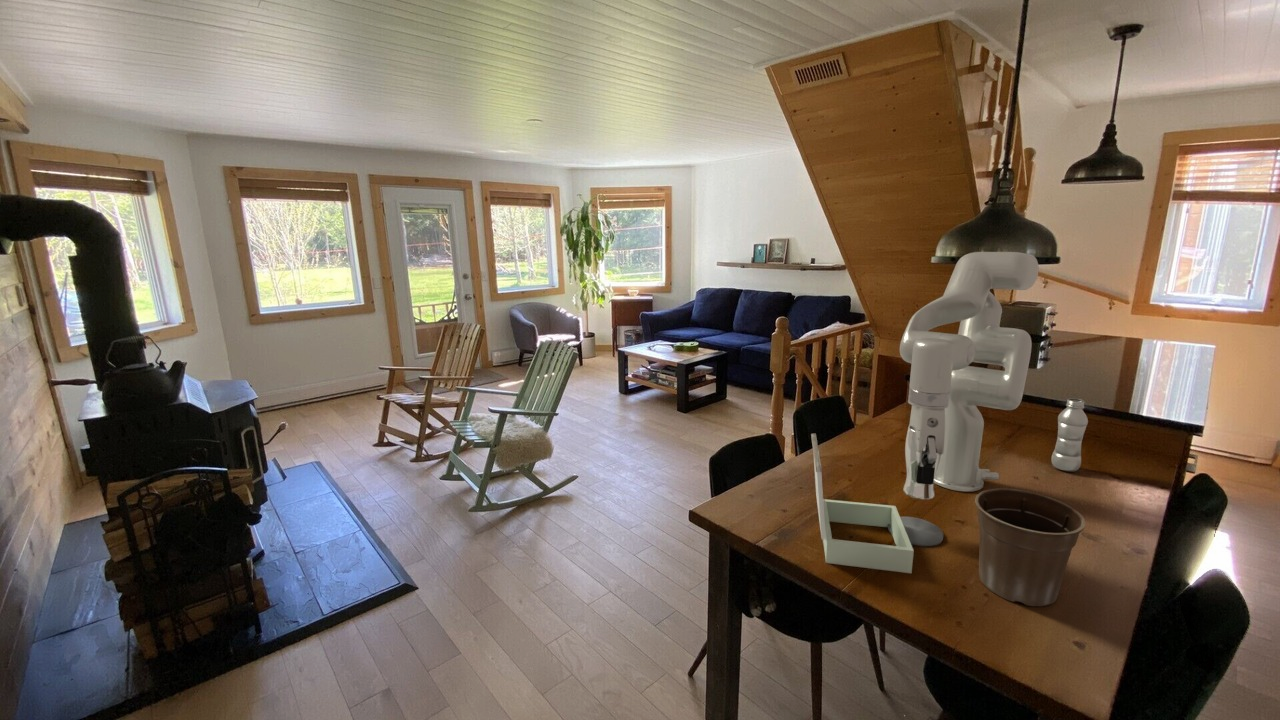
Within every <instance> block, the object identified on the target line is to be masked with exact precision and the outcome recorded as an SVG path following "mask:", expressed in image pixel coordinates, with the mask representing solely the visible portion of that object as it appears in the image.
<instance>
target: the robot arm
mask: <svg viewBox="0 0 1280 720" xmlns="http://www.w3.org/2000/svg"><path fill="white" fill-rule="evenodd" d="M1038 276H1039V262H1038V259H1037V258H1036V257H1035V256H1034V255H1032V254H1029V253H1024V252H1017V251H974V252H969V253H967V254H965V255H963V256H961V257H960V258H959V259H958V261H957V262H956V264H955V266H954V269H953V271H952V274H951V275H950V279H949V281H948V283H947V286H946V288H945V290H944V292H943V294H942V296H940V297H938V298H937V299H935V300H932V301H930V302H928V303H927V304H926V305H924V306H922V307H921V308H920V309H919V310H917V311H916V312H915V313H914V314H913V315H912V316H911V317H910V319H909V321H908V323H907V325H906V328H905V330H904V332H903V334H902V338H901V340H900V344H899V354H900V357H901V359H902V360H903V361H904V362H906V363H908V364H910V365H911V367H910V375H909V376H910V377H909V388H908V399H907V403H908V404H909V405H911V411H910V416H909V417H910V418H909V424H908V426H909V425H910V424H911V429H912V430H914V431H916V450H917V451H918V452H919V453H920V458H919V465H918V466H917V476H916V482H917V483H918V484H929V485H932V484H933V481H934V485H938V486H940V487H942V488H944V489H948V490H951V491H956V492H964V493H965V492H969V493H970V492H977V491H980V490H981V489H983V488H984V481H985V480H991V481H998V480H1000V475H999V472H995V471H994V472H991V471H990V469H989V468H988V469H987V468H980V467H979V465H980V464H979V463H980V458H981V447H982V441H983V433H984V426H985V421H984V418H983V415H982V413H981V411H980V410H979V408H978V406H979V407H985V408H990V409H998V410H1002V411H1003V410H1004V411H1012V410H1016V409H1017V408H1018V407H1019V406H1020V404H1021V402H1022V399H1023V396H1024V391H1025V385H1026V380H1027V376H1028V370H1029V364H1030V360H1031V356H1032V355H1031V353H1032V337H1031V334H1029V333H1028V332H1027V331H1026V330H1024V329H1021V328H1020V329H1019V328H1013V327H1001V326H1000V323H1001V318H1002V314H1003V308H1002V305H1001V303H1000V301H999V300H998V299H997V298H996V297H995V295H994V294H993V293H992V292H991V291H990V290H991V289H992V290H1013V291H1014V290H1016V291H1027V290H1030V289H1031V288H1032V287H1033V286H1034V285H1035V283H1036V281H1037V279H1038ZM957 322H960V323H959V328H958V332H957V333H946V332H945V333H944V332H940V331H930V330H932V329H935V328H937V327H940V326H945V325H949V324H953V323H957ZM972 363H978V364H979V363H980V364H986V365H993V366H1001V367H1003V368H1004V370H1000V369H994V368H993V369H991V368H985V367H979V366H970V364H972ZM926 444H927V449H928V452H923V448H924V447H925V446H926ZM935 447H936V448H935ZM936 449H937V450H936ZM936 452H937V453H938V454H939V455H941V458H940V462H939V465H938V468H937V471H936V474H935V477H934V472H935V463H936V459H937V455H936ZM924 455H928V456H927V458H925V459H924Z"/></svg>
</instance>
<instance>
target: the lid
mask: <svg viewBox="0 0 1280 720" xmlns="http://www.w3.org/2000/svg"><path fill="white" fill-rule="evenodd" d="M810 436H811V437H810V438H811V444H812V451H813V454H812V455H813V466H814V483H815V494H816V503H817V504H816V505H817V506H816V507H817V512H818V514H817V515H818V520H819V528H820V538H821V540H822V541H823V540H826V535H825V520H824V504H823V499H824V493H823V477H822V475H823V474H822V464H821V459H820V451H819V445H818V440H817V439H818V438H817V434H816V433H811V434H810Z"/></svg>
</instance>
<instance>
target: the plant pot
mask: <svg viewBox="0 0 1280 720" xmlns="http://www.w3.org/2000/svg"><path fill="white" fill-rule="evenodd" d="M974 503H975V506H976V508H977V521H978V523H979V541H978V542H979V544H978V545H979V546H978V547H979V552H978V553H979V557H978V563H979V564H978V566H979V567H978V575H979V580H980V581H981V582H982V584H983V585H984V586H985V588H987V589H988V590H989V591H991V592H992V593H994V594H995V595H997V596H998V597H1000V598H1002V599H1005V600H1007V601H1009V602H1011V603H1013V602H1019V603H1022V604H1024V605H1025V606H1028V607H1045V606H1049V605H1051V604H1054V603H1055V602H1056V601H1057V599H1058V596H1059V592H1060V589H1061V586H1062V582H1063V579H1064V576H1065V572H1066V569H1067V566H1068V562H1069V559H1070V556H1071V554H1072V553H1071V552H1072V549H1073V548H1074V547H1075V546H1076V545H1077V542H1078V539H1079V535H1080V533H1081V532H1082V531H1084V529H1085V528H1086V527H1085V526H1086V520H1085V518H1084V516H1083V515H1082V514H1081V513H1080V512H1079V511H1078V510H1076V509H1075V508H1074V507H1071V506H1070V505H1068V504H1067V503H1064V502H1063V501H1060V500H1058V499H1055V498H1053V497H1050V496H1047V495H1044V494H1040V493H1036V492H1033V491H1028V490H1025V489H1017V488H992V489H986V490H983V491H981V492H979V493H978V494H976V496H975V499H974Z"/></svg>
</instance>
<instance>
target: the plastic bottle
mask: <svg viewBox="0 0 1280 720" xmlns="http://www.w3.org/2000/svg"><path fill="white" fill-rule="evenodd" d="M1066 401H1067V402H1066V403H1065V406H1066V408H1064V409H1063V410H1062V411H1060V413H1059V414H1058V415H1057V424H1058V425H1057V429H1058V430H1057V437H1056V438H1057V439H1056V443H1055V445H1054V447H1055V448H1054V450H1053V451H1052V455H1051V464H1052V466H1053V467H1054V468H1056V469H1057V470H1061V471H1064V472H1077V471H1078V470H1079V469H1080V467H1081V465H1082V454H1081V453H1082V442H1083V440H1084V439H1083V438H1084V435H1085V431H1086V428H1087V426H1088V423H1089V420H1088V416H1087V415H1086V413H1085V412H1084V409H1085V400H1083V399H1080V398H1076V397H1075V398H1072V397H1070V398H1067V400H1066Z"/></svg>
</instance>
